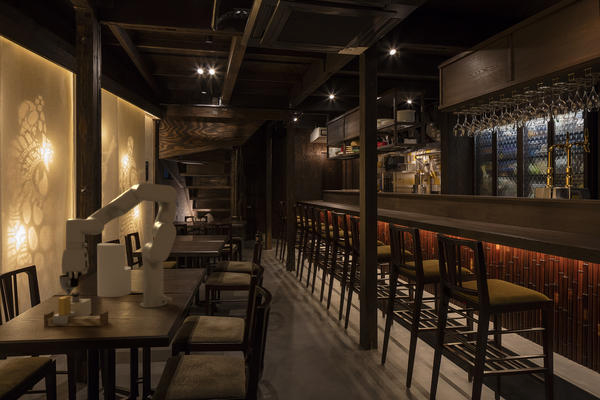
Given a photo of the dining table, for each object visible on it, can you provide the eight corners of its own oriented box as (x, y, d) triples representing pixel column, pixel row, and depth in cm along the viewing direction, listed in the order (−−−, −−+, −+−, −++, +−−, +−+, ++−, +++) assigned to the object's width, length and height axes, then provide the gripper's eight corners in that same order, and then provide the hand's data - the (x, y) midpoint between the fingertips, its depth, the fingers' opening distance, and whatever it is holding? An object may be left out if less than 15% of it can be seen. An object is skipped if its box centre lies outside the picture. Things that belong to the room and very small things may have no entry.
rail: (108, 322, 177) (108, 310, 177) (102, 325, 172) (102, 314, 172) (51, 322, 177) (51, 311, 177) (44, 326, 172) (43, 314, 172)
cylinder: (111, 298, 218) (110, 246, 218) (90, 295, 227) (90, 244, 227) (138, 292, 233) (137, 242, 233) (118, 288, 242) (117, 241, 242)
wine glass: (57, 308, 200) (57, 277, 200) (62, 304, 208) (62, 274, 208) (75, 306, 202) (75, 276, 202) (79, 302, 210) (79, 273, 210)
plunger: (82, 306, 187) (81, 292, 187) (77, 309, 183) (77, 293, 183) (74, 307, 187) (73, 292, 187) (69, 309, 183) (69, 293, 183)
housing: (91, 313, 190) (90, 298, 190) (80, 320, 180) (80, 304, 180) (71, 314, 190) (71, 299, 190) (59, 320, 180) (59, 304, 180)
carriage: (76, 319, 178) (75, 295, 178) (67, 324, 171) (67, 299, 171) (62, 319, 178) (61, 295, 177) (52, 324, 171) (52, 299, 171)
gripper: (95, 245, 189) (95, 285, 189) (63, 245, 188) (62, 285, 188) (87, 247, 181) (87, 288, 181) (53, 246, 181) (52, 288, 181)
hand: (74, 286), depth 185 cm, fingers closed
